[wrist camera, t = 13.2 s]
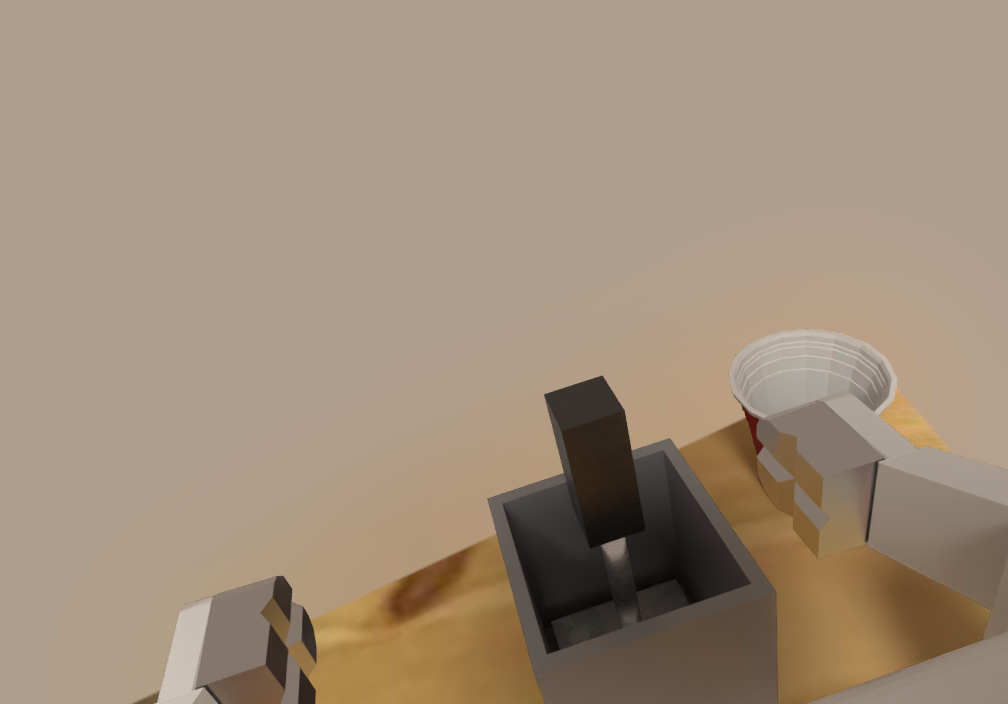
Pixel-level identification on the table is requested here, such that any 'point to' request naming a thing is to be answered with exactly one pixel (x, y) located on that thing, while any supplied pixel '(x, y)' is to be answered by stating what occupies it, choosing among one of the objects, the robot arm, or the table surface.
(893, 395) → the plastic cup
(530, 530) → the box
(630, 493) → the plunger
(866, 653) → the table surface
